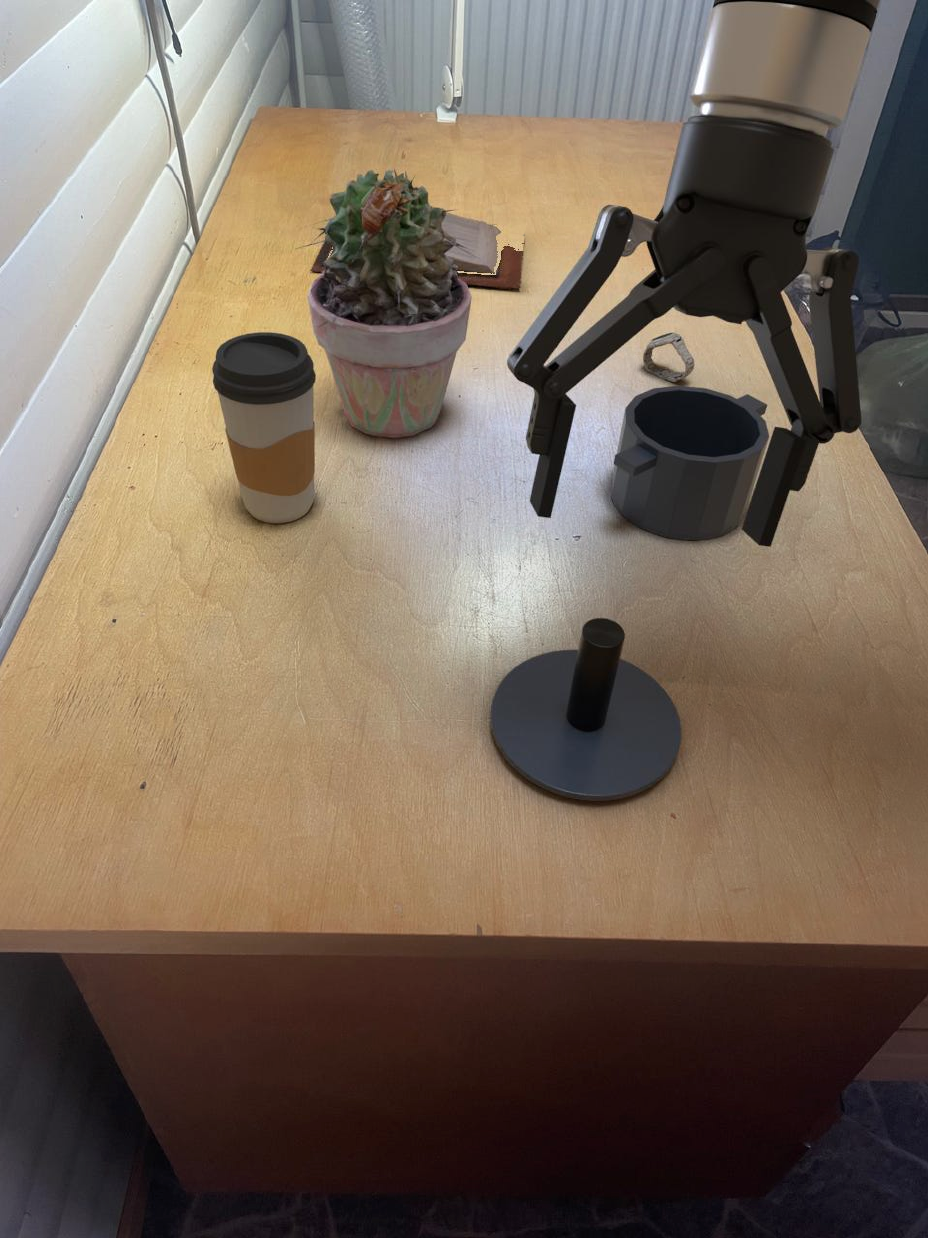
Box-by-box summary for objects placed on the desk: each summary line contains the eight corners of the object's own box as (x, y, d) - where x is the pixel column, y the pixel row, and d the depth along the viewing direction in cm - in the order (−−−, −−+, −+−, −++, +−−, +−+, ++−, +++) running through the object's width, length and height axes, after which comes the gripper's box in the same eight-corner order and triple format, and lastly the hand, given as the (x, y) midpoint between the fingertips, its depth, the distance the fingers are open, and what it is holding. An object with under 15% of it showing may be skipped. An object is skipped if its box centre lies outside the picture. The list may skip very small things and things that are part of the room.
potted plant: (429, 352, 106) (433, 115, 89) (507, 438, 93) (529, 181, 76) (279, 380, 100) (252, 131, 83) (340, 476, 87) (324, 206, 70)
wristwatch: (651, 361, 107) (660, 320, 103) (695, 381, 104) (705, 340, 100) (633, 370, 105) (641, 329, 102) (677, 391, 102) (686, 350, 99)
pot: (788, 498, 88) (815, 421, 82) (662, 569, 79) (682, 489, 73) (689, 440, 95) (707, 365, 89) (563, 499, 86) (574, 421, 80)
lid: (717, 743, 65) (752, 648, 59) (581, 841, 59) (603, 748, 52) (585, 635, 73) (603, 540, 66) (451, 712, 66) (456, 616, 60)
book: (336, 220, 135) (334, 189, 131) (526, 230, 133) (528, 199, 130) (309, 286, 121) (305, 253, 118) (519, 298, 120) (521, 265, 116)
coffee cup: (291, 467, 88) (275, 319, 78) (343, 507, 84) (334, 357, 73) (215, 500, 84) (188, 348, 73) (266, 544, 79) (246, 389, 69)
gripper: (940, 171, 51) (813, 527, 60) (505, 77, 46) (438, 476, 55) (1030, 173, 44) (871, 573, 53) (531, 62, 40) (450, 519, 49)
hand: (649, 524), depth 54 cm, fingers open, 13 cm apart
